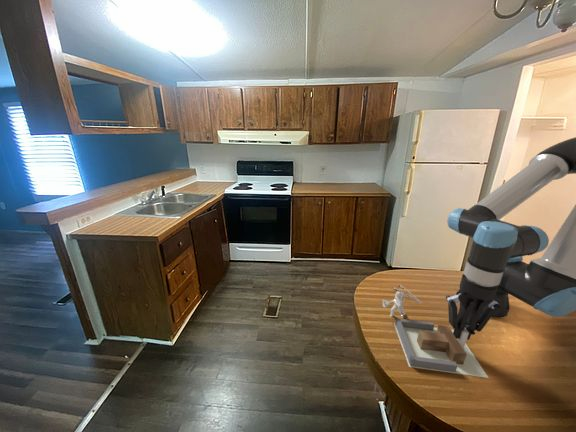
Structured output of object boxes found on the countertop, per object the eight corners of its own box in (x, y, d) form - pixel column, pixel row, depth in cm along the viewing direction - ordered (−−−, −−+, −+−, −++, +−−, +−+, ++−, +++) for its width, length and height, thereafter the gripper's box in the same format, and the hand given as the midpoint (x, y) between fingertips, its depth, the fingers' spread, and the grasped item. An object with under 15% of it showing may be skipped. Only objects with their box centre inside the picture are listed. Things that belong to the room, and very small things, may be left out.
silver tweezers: (391, 289, 99) (392, 285, 98) (398, 286, 101) (399, 282, 100) (429, 318, 85) (431, 314, 84) (437, 314, 87) (439, 310, 86)
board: (456, 332, 76) (458, 324, 75) (487, 380, 62) (491, 371, 60) (393, 325, 79) (394, 317, 78) (408, 369, 65) (410, 360, 63)
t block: (445, 335, 74) (448, 326, 73) (463, 364, 65) (466, 354, 63) (412, 331, 75) (415, 322, 74) (425, 359, 66) (428, 349, 65)
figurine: (408, 320, 82) (415, 292, 78) (387, 326, 79) (393, 298, 75) (398, 310, 86) (404, 284, 82) (378, 316, 83) (383, 289, 79)
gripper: (497, 273, 63) (474, 338, 71) (446, 269, 65) (429, 332, 73) (519, 290, 56) (490, 360, 64) (461, 285, 58) (440, 353, 66)
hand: (457, 345), depth 69 cm, fingers closed
